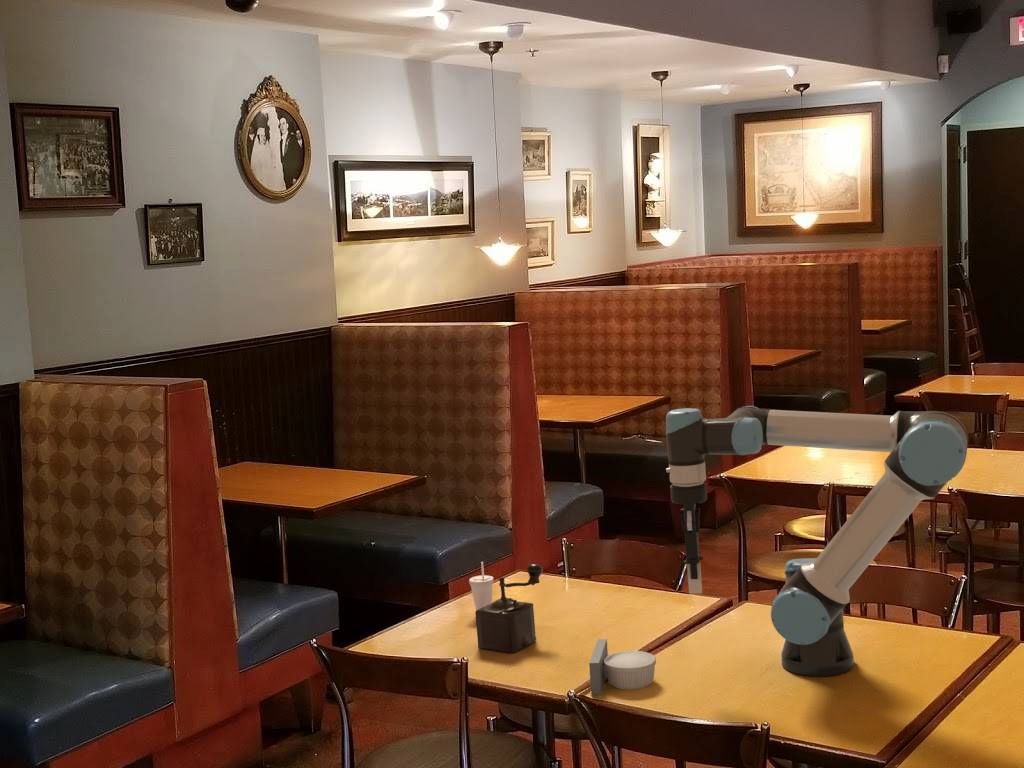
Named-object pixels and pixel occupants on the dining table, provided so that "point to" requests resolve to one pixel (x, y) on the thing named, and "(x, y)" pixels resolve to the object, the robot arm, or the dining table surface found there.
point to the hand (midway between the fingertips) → (695, 592)
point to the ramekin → (630, 669)
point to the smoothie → (481, 589)
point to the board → (598, 667)
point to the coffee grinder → (508, 619)
